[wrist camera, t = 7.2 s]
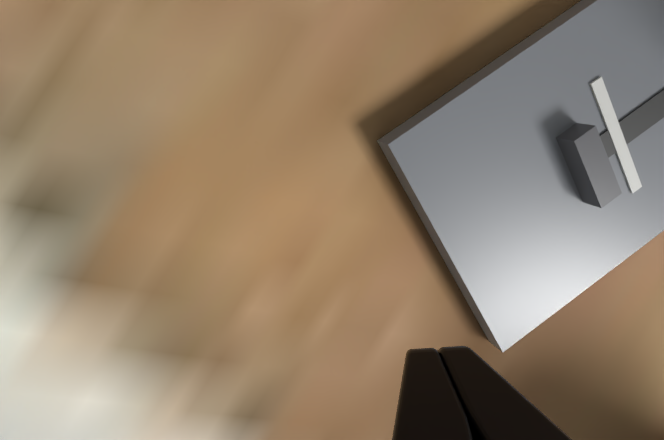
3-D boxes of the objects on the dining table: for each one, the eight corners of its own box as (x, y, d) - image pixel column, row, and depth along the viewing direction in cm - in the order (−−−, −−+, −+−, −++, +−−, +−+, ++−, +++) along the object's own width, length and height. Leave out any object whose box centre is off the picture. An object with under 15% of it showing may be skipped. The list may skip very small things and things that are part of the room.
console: (489, 341, 24) (517, 364, 23) (377, 140, 21) (400, 148, 19) (803, 104, 26) (852, 107, 25) (753, -118, 23) (807, -134, 21)
